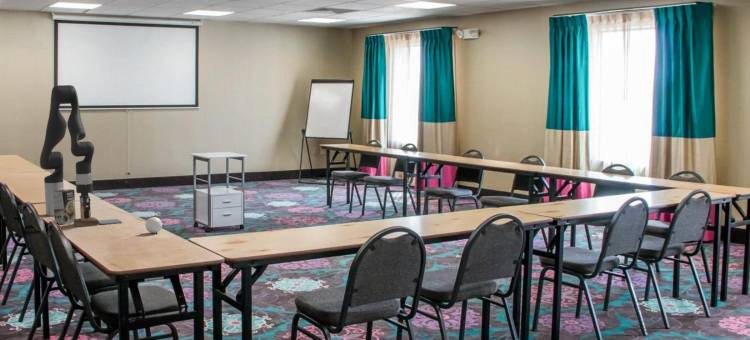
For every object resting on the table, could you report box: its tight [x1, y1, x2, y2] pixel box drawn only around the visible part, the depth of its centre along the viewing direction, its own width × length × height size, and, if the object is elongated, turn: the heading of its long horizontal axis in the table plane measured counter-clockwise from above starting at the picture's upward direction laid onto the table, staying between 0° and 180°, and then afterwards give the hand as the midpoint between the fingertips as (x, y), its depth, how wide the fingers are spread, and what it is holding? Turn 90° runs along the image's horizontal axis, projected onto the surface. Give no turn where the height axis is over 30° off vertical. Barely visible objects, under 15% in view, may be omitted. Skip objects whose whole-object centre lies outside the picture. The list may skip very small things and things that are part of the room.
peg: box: [79, 205, 92, 221], centre depth 388 cm, size 4×4×9 cm
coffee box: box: [53, 189, 77, 225], centre depth 394 cm, size 9×6×16 cm
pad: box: [98, 218, 123, 226], centre depth 394 cm, size 10×10×1 cm
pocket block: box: [73, 216, 99, 228], centre depth 389 cm, size 10×10×2 cm
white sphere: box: [145, 217, 163, 234], centre depth 365 cm, size 10×7×7 cm
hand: (85, 217), depth 388 cm, fingers open, 4 cm apart
